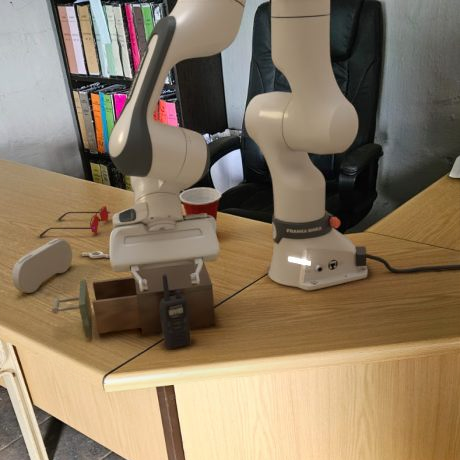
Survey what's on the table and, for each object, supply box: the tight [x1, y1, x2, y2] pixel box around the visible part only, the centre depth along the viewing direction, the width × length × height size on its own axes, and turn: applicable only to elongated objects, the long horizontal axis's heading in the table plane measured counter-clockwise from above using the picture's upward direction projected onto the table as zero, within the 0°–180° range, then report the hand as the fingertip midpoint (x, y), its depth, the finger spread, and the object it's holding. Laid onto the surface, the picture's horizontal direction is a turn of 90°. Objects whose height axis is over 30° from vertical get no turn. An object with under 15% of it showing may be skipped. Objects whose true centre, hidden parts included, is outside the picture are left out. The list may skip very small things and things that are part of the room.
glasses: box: [39, 205, 111, 238], centre depth 181 cm, size 14×16×5 cm
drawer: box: [51, 276, 142, 339], centre depth 128 cm, size 19×11×7 cm, turn 100°
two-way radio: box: [159, 274, 192, 350], centre depth 119 cm, size 6×4×15 cm
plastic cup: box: [179, 187, 222, 221], centre depth 167 cm, size 11×11×12 cm
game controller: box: [11, 237, 73, 294], centre depth 150 cm, size 20×2×8 cm, turn 156°
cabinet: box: [135, 262, 216, 337], centre depth 130 cm, size 15×13×9 cm
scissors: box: [81, 250, 110, 259], centre depth 160 cm, size 11×1×20 cm
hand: (170, 287), depth 116 cm, fingers open, 8 cm apart
